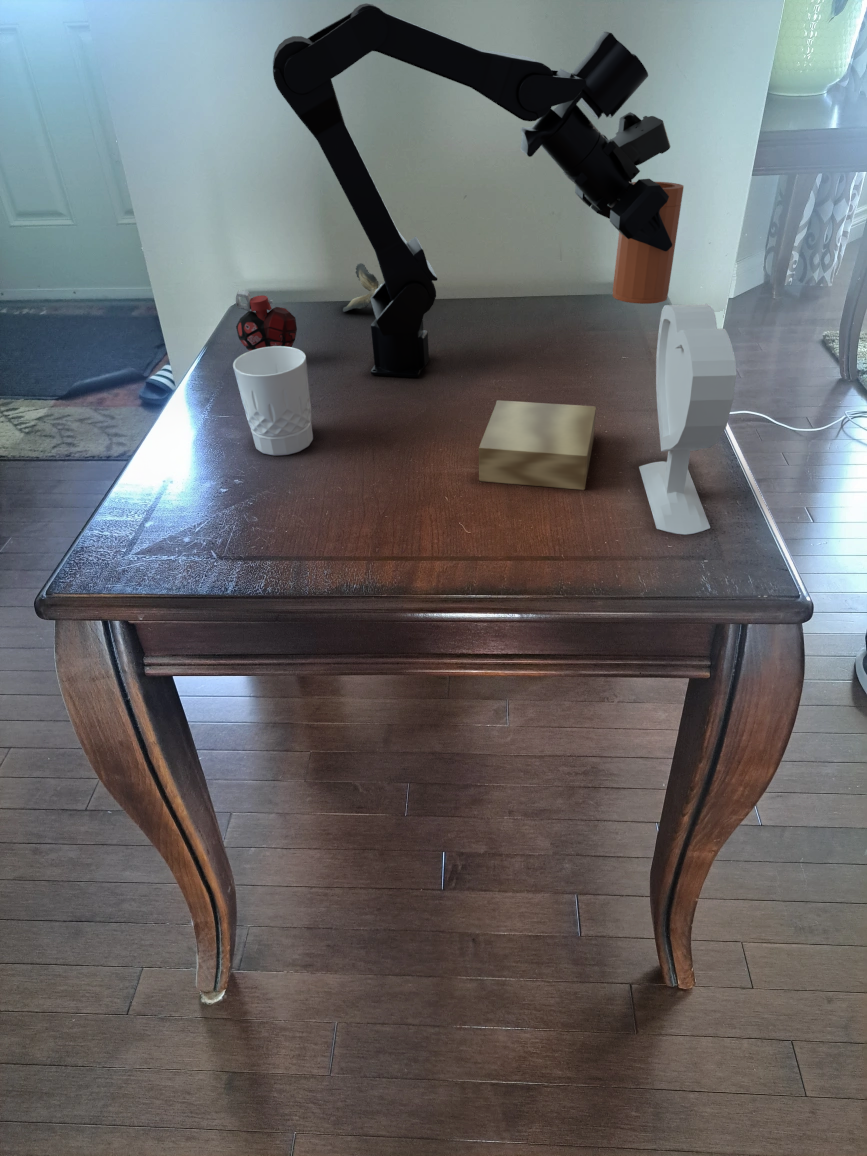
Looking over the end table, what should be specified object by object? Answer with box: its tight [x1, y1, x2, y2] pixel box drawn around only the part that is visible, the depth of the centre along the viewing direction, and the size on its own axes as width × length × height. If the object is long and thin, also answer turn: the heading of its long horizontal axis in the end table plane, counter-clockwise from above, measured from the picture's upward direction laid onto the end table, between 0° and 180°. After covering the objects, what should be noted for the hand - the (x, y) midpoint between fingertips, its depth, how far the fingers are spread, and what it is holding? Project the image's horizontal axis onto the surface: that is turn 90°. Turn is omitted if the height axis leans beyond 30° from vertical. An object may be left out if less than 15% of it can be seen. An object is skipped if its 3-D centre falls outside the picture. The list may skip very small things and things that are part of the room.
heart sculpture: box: [638, 303, 737, 536], centre depth 78 cm, size 16×5×18 cm, turn 177°
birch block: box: [478, 399, 597, 491], centre depth 89 cm, size 11×11×4 cm
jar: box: [612, 181, 685, 305], centre depth 106 cm, size 7×7×14 cm
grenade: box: [235, 289, 298, 352], centre depth 111 cm, size 5×8×10 cm, turn 99°
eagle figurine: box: [342, 262, 383, 312], centre depth 127 cm, size 8×7×9 cm
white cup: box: [232, 346, 314, 456], centre depth 93 cm, size 8×8×10 cm
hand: (658, 239), depth 106 cm, fingers closed on jar, 7 cm apart
